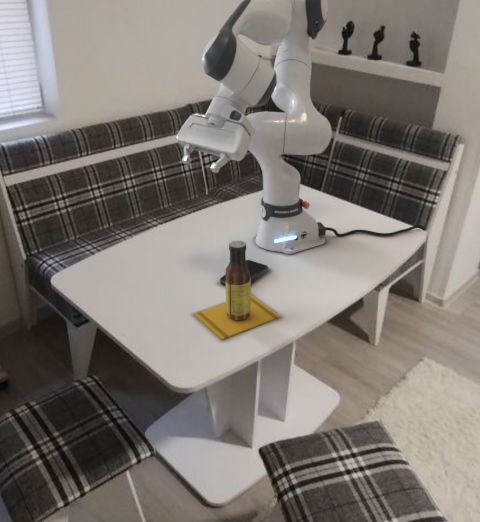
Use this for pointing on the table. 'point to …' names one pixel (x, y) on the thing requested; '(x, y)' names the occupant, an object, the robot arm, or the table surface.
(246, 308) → the sauce bottle
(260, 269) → the phone
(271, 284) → the table surface
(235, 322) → the tray
